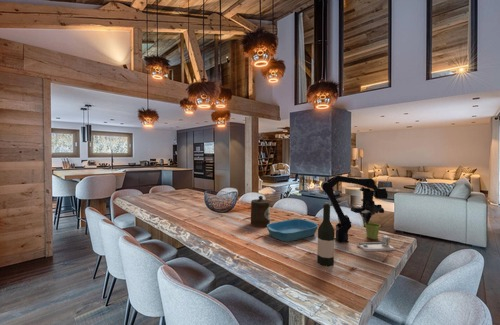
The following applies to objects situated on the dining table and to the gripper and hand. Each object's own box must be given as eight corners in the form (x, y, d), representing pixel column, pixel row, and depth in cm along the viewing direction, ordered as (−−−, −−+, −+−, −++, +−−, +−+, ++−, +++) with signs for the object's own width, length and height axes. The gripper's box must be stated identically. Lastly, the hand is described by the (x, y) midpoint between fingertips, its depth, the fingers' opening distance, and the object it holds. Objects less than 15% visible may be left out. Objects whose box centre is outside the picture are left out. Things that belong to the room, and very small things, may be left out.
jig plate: (365, 251, 132) (365, 247, 131) (357, 245, 139) (357, 242, 139) (394, 250, 134) (394, 246, 134) (384, 244, 142) (385, 241, 142)
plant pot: (371, 240, 148) (372, 227, 148) (360, 235, 157) (361, 223, 157) (383, 239, 150) (384, 226, 150) (372, 234, 160) (372, 222, 159)
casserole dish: (281, 246, 138) (281, 234, 138) (260, 234, 157) (260, 224, 157) (324, 235, 158) (324, 224, 158) (300, 226, 177) (300, 217, 176)
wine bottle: (330, 259, 121) (331, 201, 120) (337, 266, 113) (338, 204, 112) (314, 259, 121) (315, 201, 120) (319, 266, 112) (321, 204, 112)
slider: (385, 246, 135) (386, 237, 135) (381, 244, 139) (381, 235, 139) (390, 246, 135) (390, 237, 135) (386, 243, 139) (386, 235, 139)
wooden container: (270, 227, 173) (271, 197, 172) (250, 227, 173) (250, 197, 172) (269, 221, 188) (269, 194, 187) (250, 221, 188) (251, 194, 187)
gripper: (360, 200, 136) (359, 227, 136) (391, 201, 138) (389, 227, 138) (350, 197, 147) (349, 222, 147) (378, 197, 149) (377, 222, 149)
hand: (366, 223), depth 145 cm, fingers closed
